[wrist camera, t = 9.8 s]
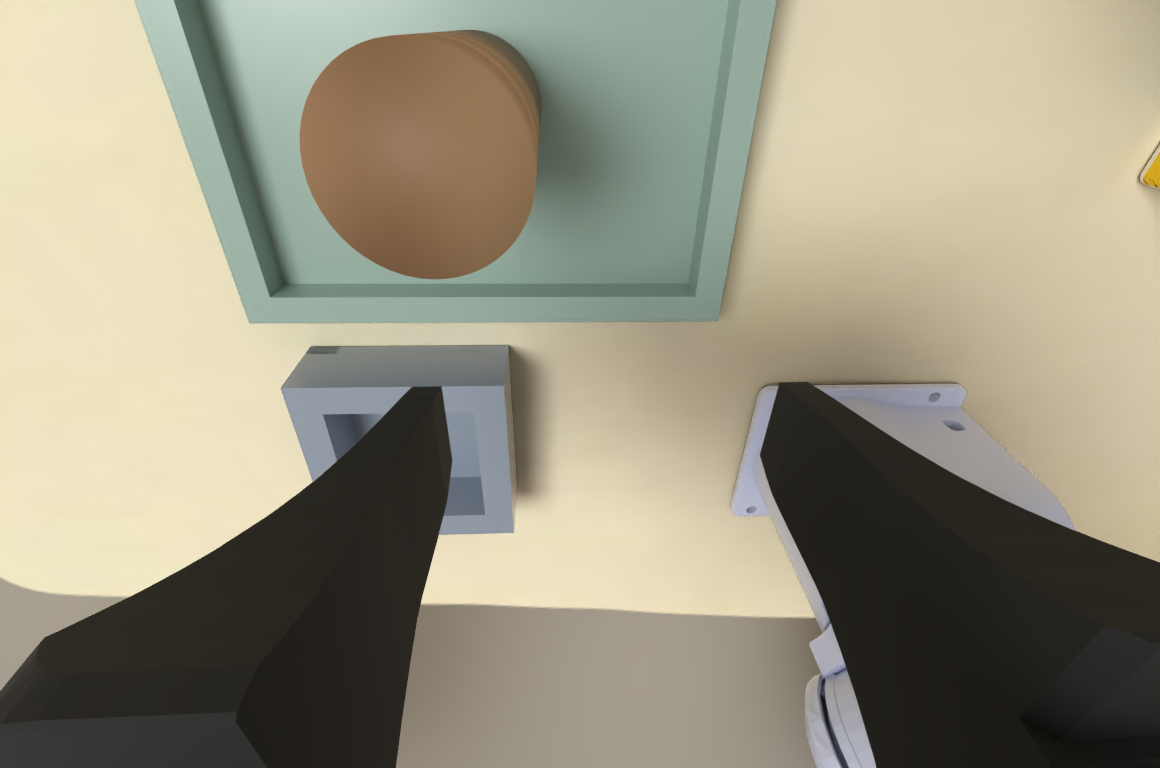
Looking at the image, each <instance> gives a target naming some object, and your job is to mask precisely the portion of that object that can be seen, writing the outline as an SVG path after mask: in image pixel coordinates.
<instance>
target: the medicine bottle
mask: <svg viewBox="0 0 1160 768" xmlns="http://www.w3.org/2000/svg"><path fill="white" fill-rule="evenodd" d="M1140 182H1142V183H1143V184H1145V185H1147V186H1150V187H1153V188H1157V189H1160V145H1159V146H1158V148H1157V149H1156V151H1155V153H1154V154H1153V156H1152V157H1151V159H1150V160H1149V162H1148V163H1147V165H1146V167H1145V168H1144V170H1143V171H1142V173H1141V175H1140Z"/></svg>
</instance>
